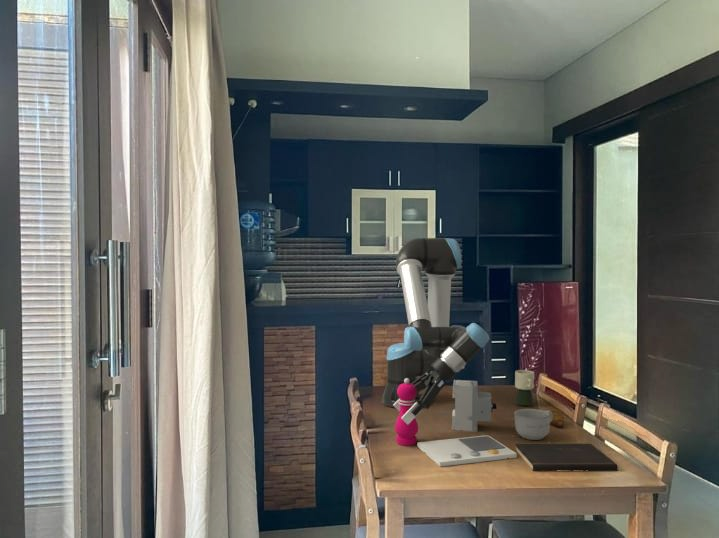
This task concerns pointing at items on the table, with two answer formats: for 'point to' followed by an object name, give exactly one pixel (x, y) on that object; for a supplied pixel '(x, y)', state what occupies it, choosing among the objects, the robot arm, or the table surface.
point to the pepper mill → (406, 402)
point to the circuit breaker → (470, 405)
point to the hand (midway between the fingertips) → (400, 414)
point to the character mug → (524, 387)
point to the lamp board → (465, 450)
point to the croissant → (557, 418)
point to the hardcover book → (565, 457)
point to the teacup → (532, 423)
